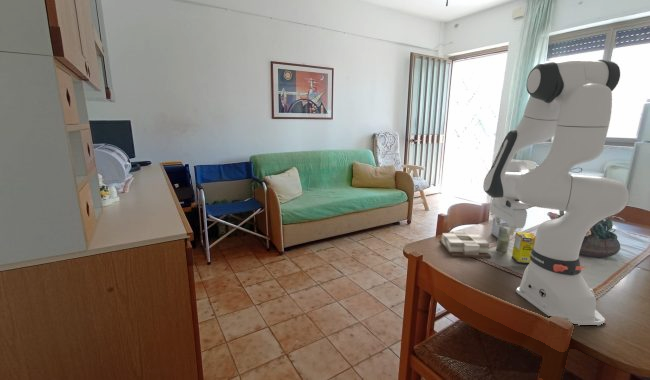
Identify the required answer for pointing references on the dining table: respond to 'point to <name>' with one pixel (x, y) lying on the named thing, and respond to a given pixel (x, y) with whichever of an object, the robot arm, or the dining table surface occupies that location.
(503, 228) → the peg
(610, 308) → the dining table surface
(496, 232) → the medicine box
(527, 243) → the supplement box
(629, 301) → the dining table surface
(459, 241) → the holder board
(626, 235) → the dining table surface
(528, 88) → the robot arm
